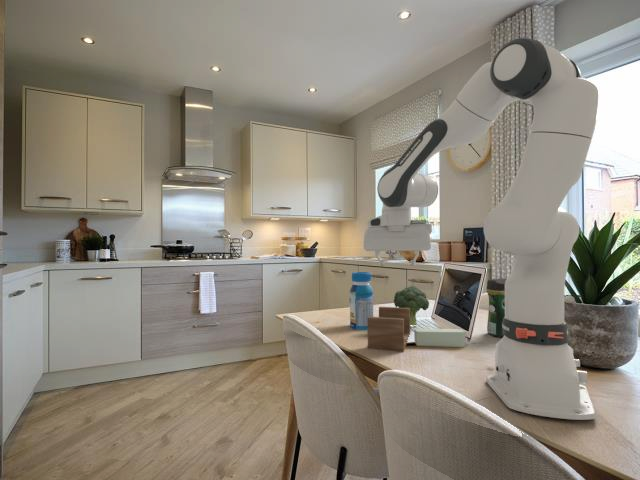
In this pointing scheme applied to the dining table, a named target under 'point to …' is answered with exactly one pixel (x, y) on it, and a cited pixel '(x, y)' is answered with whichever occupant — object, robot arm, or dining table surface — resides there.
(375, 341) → the wooden napkin holder
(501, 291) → the coffee jar
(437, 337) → the pale green rectangular bar
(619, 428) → the dining table surface
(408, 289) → the vegetable
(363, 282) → the beverage bottle
